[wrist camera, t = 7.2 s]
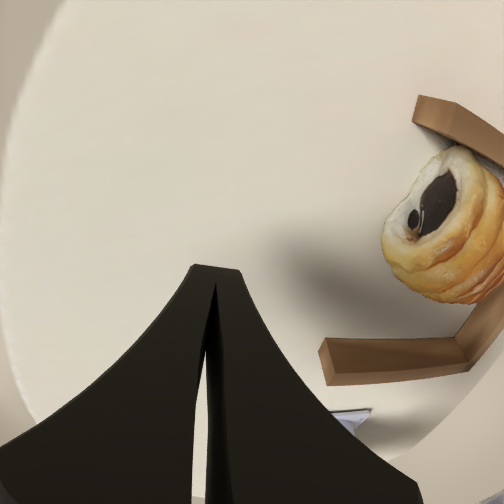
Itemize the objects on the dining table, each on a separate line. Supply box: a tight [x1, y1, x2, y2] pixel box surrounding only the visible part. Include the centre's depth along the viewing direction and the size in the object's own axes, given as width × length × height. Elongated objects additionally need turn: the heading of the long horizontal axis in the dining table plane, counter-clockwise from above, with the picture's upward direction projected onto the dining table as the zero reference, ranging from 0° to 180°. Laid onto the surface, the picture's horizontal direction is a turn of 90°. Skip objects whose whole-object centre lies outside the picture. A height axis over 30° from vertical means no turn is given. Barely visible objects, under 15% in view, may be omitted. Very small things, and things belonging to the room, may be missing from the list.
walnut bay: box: [318, 95, 504, 386], centre depth 13 cm, size 14×12×2 cm
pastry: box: [381, 145, 504, 305], centre depth 11 cm, size 9×7×4 cm
